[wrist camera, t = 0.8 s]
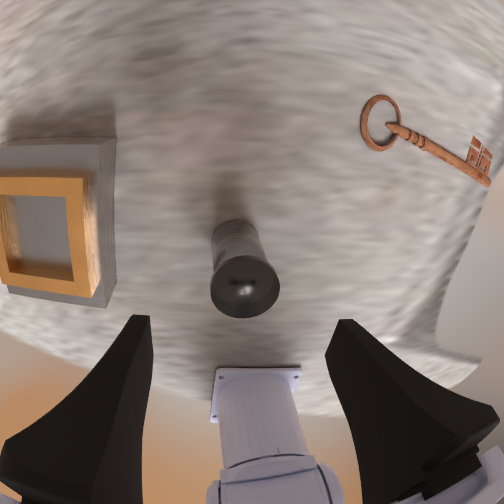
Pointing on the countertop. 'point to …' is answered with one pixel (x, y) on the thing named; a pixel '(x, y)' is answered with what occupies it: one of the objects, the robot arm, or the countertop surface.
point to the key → (429, 145)
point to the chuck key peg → (241, 272)
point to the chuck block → (58, 219)
